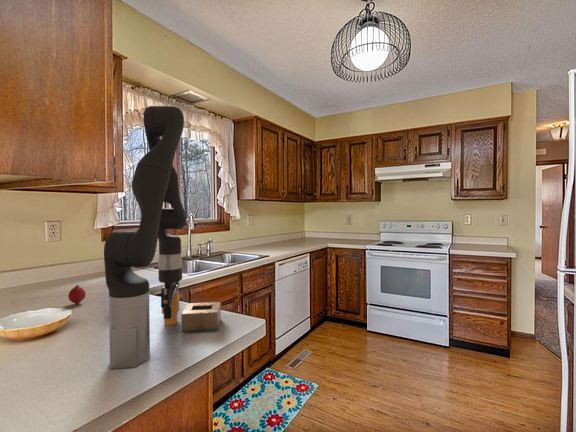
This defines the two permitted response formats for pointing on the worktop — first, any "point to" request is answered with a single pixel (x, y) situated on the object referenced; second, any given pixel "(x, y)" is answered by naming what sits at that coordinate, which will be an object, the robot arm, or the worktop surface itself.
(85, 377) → the worktop surface
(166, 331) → the worktop surface
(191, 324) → the base
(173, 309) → the orange stepped block
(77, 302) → the onion
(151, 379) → the worktop surface
